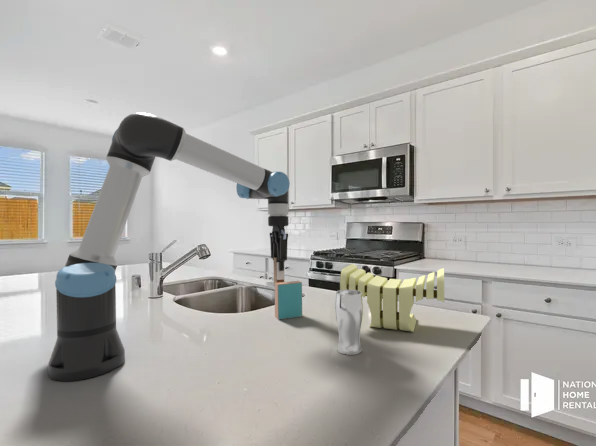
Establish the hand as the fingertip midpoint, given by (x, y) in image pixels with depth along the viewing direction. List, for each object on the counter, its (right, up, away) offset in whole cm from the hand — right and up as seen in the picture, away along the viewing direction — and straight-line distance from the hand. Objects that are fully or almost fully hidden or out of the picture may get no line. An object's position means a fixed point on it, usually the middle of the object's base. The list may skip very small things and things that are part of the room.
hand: (278, 278), depth 123 cm
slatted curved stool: (+37, -12, -17) cm, 43 cm away
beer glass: (+20, -12, -38) cm, 45 cm away
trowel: (0, -3, 0) cm, 3 cm away
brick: (+4, -12, -8) cm, 15 cm away
